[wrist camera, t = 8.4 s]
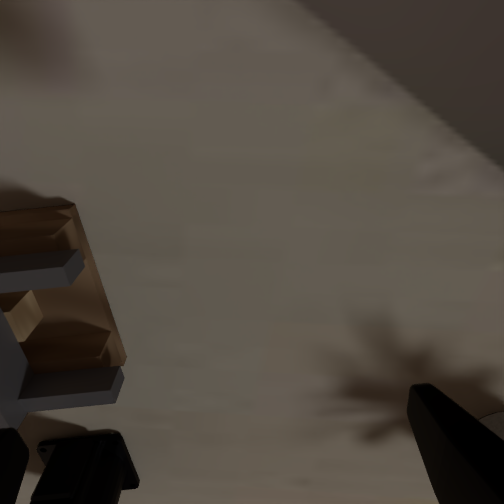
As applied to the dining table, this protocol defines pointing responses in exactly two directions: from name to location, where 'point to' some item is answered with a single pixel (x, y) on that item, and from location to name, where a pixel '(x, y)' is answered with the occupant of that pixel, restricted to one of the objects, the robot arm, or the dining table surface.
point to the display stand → (58, 297)
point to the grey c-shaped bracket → (16, 364)
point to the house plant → (495, 423)
